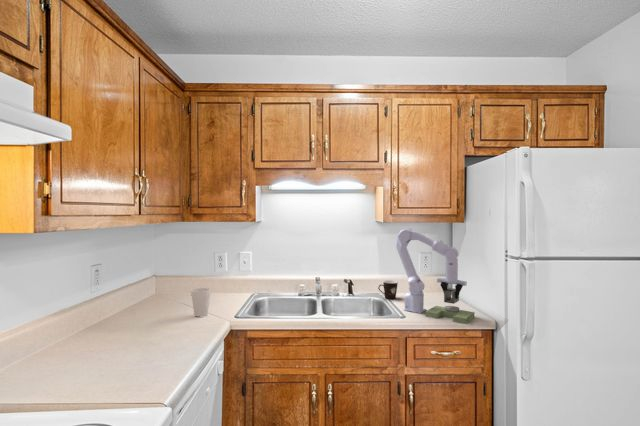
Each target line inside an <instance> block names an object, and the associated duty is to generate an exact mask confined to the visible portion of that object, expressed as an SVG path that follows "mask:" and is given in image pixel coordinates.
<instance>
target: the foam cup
mask: <svg viewBox="0 0 640 426" xmlns="http://www.w3.org/2000/svg"><path fill="white" fill-rule="evenodd" d="M190 296H191V301H192V306H193V307H192V308H193V315H195V316H205V317H207V316H208V313H209V306H210V298H211V288H208V287H199V288H192V289H191V290H190ZM206 315H207V316H206ZM195 316H194V317H195Z"/></svg>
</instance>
